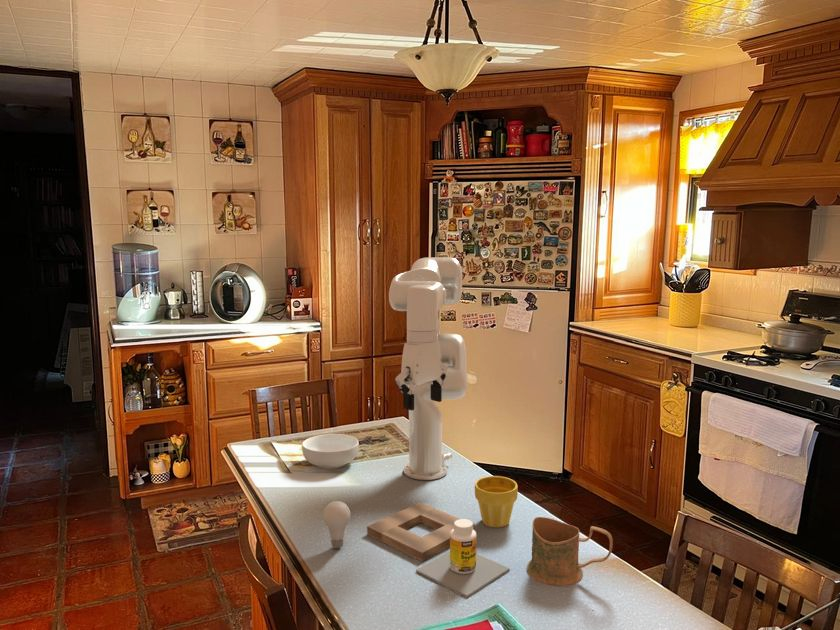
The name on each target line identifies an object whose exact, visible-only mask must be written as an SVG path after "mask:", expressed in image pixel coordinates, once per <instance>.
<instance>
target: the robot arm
mask: <svg viewBox="0 0 840 630" xmlns="http://www.w3.org/2000/svg"><path fill="white" fill-rule="evenodd" d="M390 282H391V283H390V287H389V291H388V302H389V305H390V307H391V308H392V309H393V310H394V311H397V312H398V311H399V312H406V342H404V344H403V350H402V357H401V368H400V370H401V372H400V373H399V374H398V375H397V376H396V377H395V382H396V384H397V388H398V389H399V390H400V392H401V393H402V407H403V409H406V410H408V425H409V426H408V437H409V438H408V439H409V440H408V442H409V443H408V445H409V446H408V448H409V449H408V457H409V458H408V459H409V463H407V464H406V465H404V468H403V472H404V473H403V474H405V476H406V477H408V478H411V479H413V480H414V479H415V480H419V481H432V480H437V479H440V478H442V477H444V476H446V475H447V473H448V467H447V466H446V465H445V463H446V461H447V460H448V461H449V460H450V459H452V458H453V454H452V453H451V452H450V451H448V452H446V453H444V454H443V444H442V443H443V414H442V411H441V409H440V407H439V406H438V404H437V403H436V402H438V403H441V402H442V400H460V399H462V398H464V397H465V396H466V394H467V391H468V367H467V366H468V364H467V362H468V361H467V347H466V342H465V339H464V338H463V336H462V335H460V334H457V333H441V321H440V319H439V311H440V310H441V309H442V308H443V307H444V306H454V305H457V304H459V302H460V301H461V300H462V299H461V298H462V295H463V294H462V293H463V268H462V266H461V264H460V262H459V260H457V258H455V257H445V256H444V257H442V256H441V257H437V256H436V257H423V258H419V259H417V260H416V261H415V262H413V264H412V266H411V269H409V271H405V272H401V273H399V274H396V275H395V276H394V277H393V278H392V280H391V281H390Z"/></svg>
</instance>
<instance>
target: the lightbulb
mask: <svg viewBox="0 0 840 630" xmlns="http://www.w3.org/2000/svg"><path fill="white" fill-rule="evenodd" d="M322 519H323V523H324V524H325V525H326V528H328V531H329V537H330V539H331V540H330V542H331V546H332V547H333V548H334V549H336V550H337V549H340V548H342V547H343V546H344V538H345V531H346V529H347V528H346V527H347V525H348V523H349V521H350V520H351V511H350V508H349V506H348V505H347V504H346V503H345V502H343V501H340V500H334V501H331V502H330V503H328V504H327V505H326V506H325V507H324V509H323V514H322Z"/></svg>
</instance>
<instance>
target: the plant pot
mask: <svg viewBox="0 0 840 630" xmlns="http://www.w3.org/2000/svg"><path fill="white" fill-rule="evenodd" d="M518 489H519V487H518V484H517V482H516V481H515V480H514V479H511V478H509V477H506V476H501V475H489V476H483V477H481V478H479V479H477V480H476V481H475V482H474V496H475V499H476V500H477V502H478V507H479V512H480V517H481V522H482V524H484V525H485V526H487V527H490V528H503V527H506V526H507V525H509V523H510V520H511V517H512V513H513V509H514V505H515V502H516V501H517V500H518V494H519V493H518V492H519V491H518Z"/></svg>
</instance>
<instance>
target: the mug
mask: <svg viewBox="0 0 840 630" xmlns="http://www.w3.org/2000/svg"><path fill="white" fill-rule="evenodd" d="M531 526H532V535H531V536H532V537H531V538H532V539H531V543H532V544H531V560H530V561H529V562H528V563H527V564H526V565H527V566H526V571H527V575H529V576H530V578H531V579H533V580H535V581H536V582H538V583H541V584H544V585H547V586H552V587H569V586H573V585H575V584H577V583H579V582H580V581H581V580H582V578H583V575H584V574H583V569H582V568H585V567H587V566H589V565H591V564H593V563H602V562H605V561H607V560H608V559H609V558H610V556H611V554H612V551H613V548H614V547H613V544H614V539H613V536H612V534H611V533H610V532H609V531H608V530H606V529H603V528H601V527H598V526H593V525H592V526H591V525H590V527H589V535H588V537H585V538H583V537H580V529H579V528H578V527H576V526H574V525H571V524H570V523H569V524H568V523H566V522H562V521H560V520H556V519H555V518H549V517H546V516H545V517H544V516H537V517H534V518H533V521H532V525H531ZM594 531H595V532H599V533H601V534H603V535H606V537H607V538H608V540H609V548H608V553H607V555H606V556H605V557H601V558H594V559H593V558H592V559H590V560H589V561H587V562H585V563H579V550H580V549H579V547H580V543H585V542H588V541H590V538H591V537H592V535H593V534H594V533H593V532H594Z"/></svg>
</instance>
